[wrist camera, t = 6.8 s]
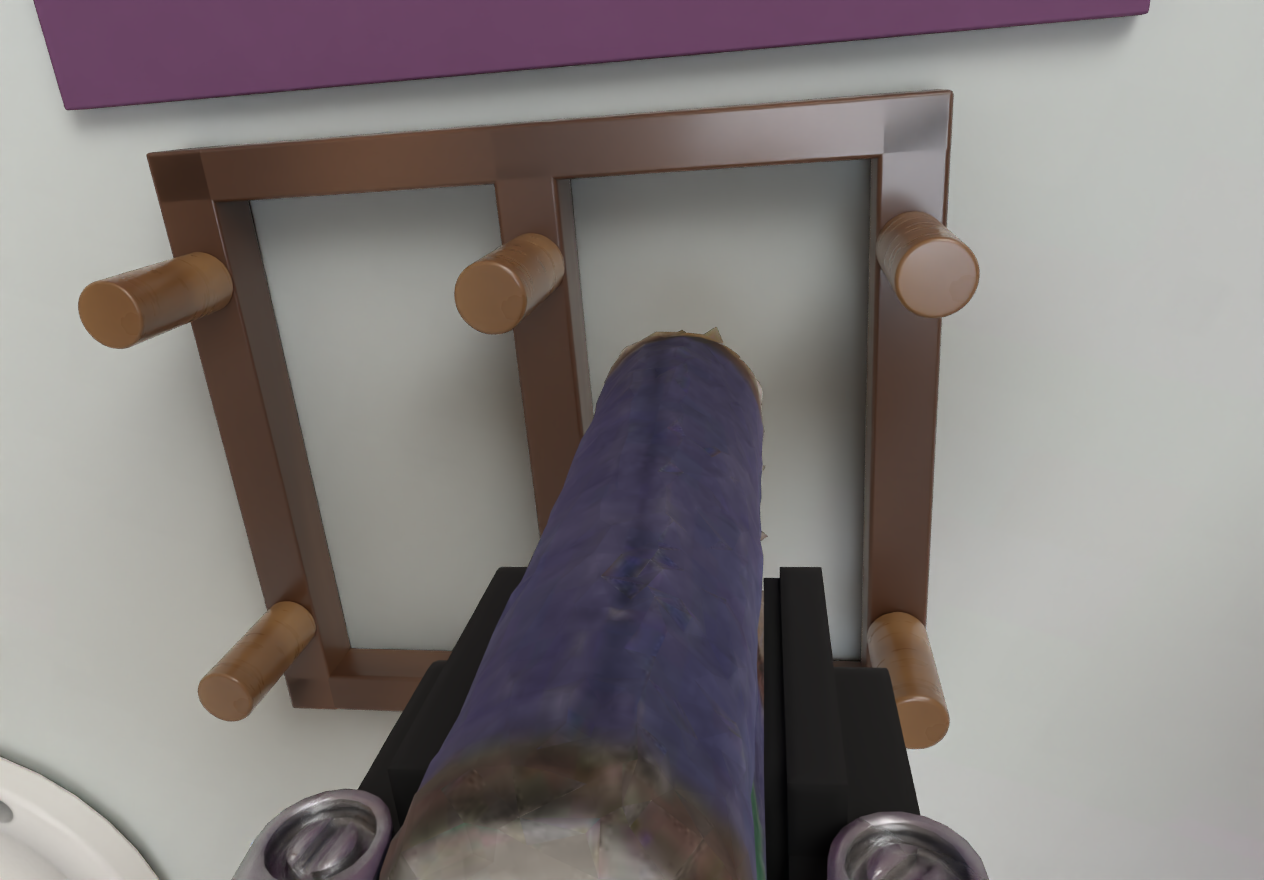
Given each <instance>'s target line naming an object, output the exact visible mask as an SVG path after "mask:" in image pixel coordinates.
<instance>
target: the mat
mask: <svg viewBox="0 0 1264 880" xmlns="http://www.w3.org/2000/svg"><path fill="white" fill-rule="evenodd" d="M33 1H34V4H35V8H36V11H37V14H38V18H39V21H40V25H41V28H42V32H43V35H44V38H45V42H46V45H47V49H48V52H49V55H50V59H51V62H52V66H53V69H54V73H55V76H56V79H57V83H58V86H59V90H60V93H61V97H62V100H63V103H64V107H65V109H66V110H82V109H94V108H105V107H116V106H127V105H138V104H150V103H161V102H172V101H183V100H194V99H206V98H217V97H228V96H239V95H250V94H261V93H273V92H284V91H295V90H306V89H317V88H329V87H340V86H351V85H362V84H373V83H385V82H396V81H407V80H418V79H429V78H441V77H452V76H463V75H474V74H485V73H497V72H508V71H519V70H530V69H541V68H553V67H564V66H575V65H586V64H597V63H609V62H620V61H631V60H642V59H653V58H664V57H676V56H687V55H698V54H709V53H720V52H732V51H743V50H754V49H765V48H776V47H788V46H799V45H810V44H821V43H832V42H844V41H855V40H866V39H877V38H888V37H900V36H911V35H922V34H933V33H944V32H956V31H967V30H978V29H989V28H1000V27H1011V26H1023V25H1034V24H1045V23H1056V22H1067V21H1079V20H1090V19H1101V18H1112V17H1123V16H1135V15H1142V14H1146V13H1148V11H1149V5H1150V0H33Z"/></svg>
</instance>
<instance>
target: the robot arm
mask: <svg viewBox="0 0 1264 880" xmlns="http://www.w3.org/2000/svg"><path fill="white" fill-rule="evenodd" d="M527 568H528V567H500V568H499V569H498V570H497V571H496V573H495V575H494V577H493V579H492V580H491V582H490V584H489V586H488V588H487V589H486V591H485V593H484V595H483V597H482V598H481V600H480V602H479V604H478V606H477V607H476V609H475V611H474V613H473V615H472V616H471V618H470V620H469V622H468V624H467V625H466V627H465V629H464V631H463V633H462V635H461V636H460V638H459V640H458V642H457V644H456V645H455V647H454V649H453V651H452V653H451V654H450V656H449V658H448V660H438V661H435V662H433V663H432V664H431V665H430V667H429V668H428V669H427V671H426V673H425V674H424V676H423V678H422V679H421V681H420V683H419V685H418V686H417V688H416V690H415V691H414V693H413V695H412V697H411V698H410V700H409V702H408V704H407V705H406V707H405V709H404V710H403V712H402V714H401V716H400V717H399V719H398V721H397V723H396V724H395V726H394V728H393V729H392V731H391V733H390V735H389V736H388V738H387V740H386V742H385V743H384V745H383V747H382V748H381V750H380V752H379V754H378V755H377V757H376V759H375V761H374V762H373V764H372V766H371V767H370V769H369V771H368V773H367V774H366V776H365V778H364V780H363V781H362V783H361V785H360V786H359V788H358V790H353V789H340V790H333V791H325V792H322V793H319V794H316V795H313V796H311V797H308V798H305V799H303V800H301V801H299V802H297V803H295V804H294V805H292V806H290V807H288V808H286V809H285V810H283V811H282V812H281V813H280V814H278V815H277V816H276V817H275V818H274V819H272V820H271V821H270V822H269V823H268V824H267V825H266V826H265V827H264V829H263V830H262V831H261V832H260V834H259V835H258V836H257V838H256V839H255V840H254V842H253V844H252V845H251V847H250V849H249V850H248V852H247V854H246V856H245V857H244V859H243V861H242V862H241V864H240V866H239V868H238V869H237V871H236V873H235V875H234V876H233V878H232V880H379V877H380V872H381V869H382V866H383V863H384V860H385V857H386V855H387V852H388V849H389V846H390V843H391V840H392V839H393V838H394V836H395V835H396V834H397V832H398V831H399V830H400V828H401V827H402V826H403V824H404V821H405V818H406V816H407V813H408V810H409V808H410V805H411V802H412V800H413V797H414V795H415V793H417V791H418V789H419V786H420V784H421V782H422V780H423V778H424V775H425V773H426V771H427V769H428V767H429V764H430V762H431V760H432V759H433V758H434V757H435V756H436V754H437V753H438V752H439V751H440V748H441V746H442V745H443V743H444V741H445V739H446V737H447V736H448V734H449V732H450V730H451V729H452V727H453V725H454V723H455V722H456V720H457V718H458V716H459V714H460V712H461V709H462V707H463V705H464V702H465V700H466V697H467V695H468V693H469V690H470V688H471V685H472V683H473V681H474V678H475V676H476V673H477V671H478V668H479V666H480V664H481V661H482V659H483V656H484V654H485V651H486V649H487V647H488V644H489V642H490V639H491V637H492V634H493V632H494V630H495V628H496V626H497V624H498V621H499V619H500V617H501V615H502V613H503V611H504V609H505V606H506V604H507V602H508V600H509V598H510V596H511V594H512V592H513V591H514V590H515V589H516V587H517V586H518V585H519V584H520V582H521V580H522V578H523V576H524V574H525V572H526V570H527ZM764 805H765V840H766V875H767V880H989V878H988V875H987V873H986V870H985V867H984V865H983V862H982V860H981V858H980V856H979V855H978V854H977V853H976V852H975V850H974V849H973V848H972V847H971V845H970V844H969V843H968V842H967V840H965V839H964V838H962V837H961V836H960V835H958V834H957V833H956V832H954V831H953V830H952V829H950V828H949V827H948V826H945V825H943V824H941V823H939V822H936V821H934V820H932V819H930V818H927V817H925V816H920V811H919V806H918V802H917V797H916V793H915V788H914V783H913V779H912V774H911V770H910V765H909V760H908V756H907V751H906V747H905V742H904V737H903V733H902V728H901V724H900V719H899V714H898V710H897V705H896V701H895V696H894V691H893V687H892V682H891V678H890V674H889V671H888V669H887V668H873V667H833V659H832V650H831V642H830V634H829V626H828V618H827V609H826V601H825V593H824V585H823V577H822V569H821V567H780V578H764ZM0 880H159V878H158V877H157V875H156V874H155V873H154V871H153V870H152V869H151V867H150V866H149V865H148V863H147V862H146V861H145V859H144V858H143V857H142V855H141V854H140V853H139V852H138V850H137V849H136V848H135V847H134V846H133V845H132V844H131V843H130V842H129V841H128V840H127V839H126V838H125V837H124V836H123V835H122V834H121V833H120V832H119V831H118V830H117V829H116V828H115V827H114V826H113V825H112V824H111V823H110V822H109V821H108V820H107V819H106V818H104V817H103V816H102V815H100V814H99V813H98V812H97V811H95V810H94V809H93V808H91V807H90V806H89V805H87V804H86V803H85V802H84V801H82V800H81V799H80V798H78V797H77V796H76V795H74V794H73V793H71V792H69V791H67V790H66V789H64V788H62V787H61V786H59V785H57V784H56V783H54V782H52V781H51V780H49V779H47V778H46V777H44V776H42V775H41V774H39V773H36V772H34V771H32V770H30V769H27V768H25V767H23V766H21V765H18V764H16V763H14V762H11V761H9V760H7V759H5V758H2V757H0Z"/></svg>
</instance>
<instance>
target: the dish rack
mask: <svg viewBox="0 0 1264 880" xmlns="http://www.w3.org/2000/svg"><path fill="white" fill-rule="evenodd" d="M953 97H954V94H953V91H951V90H944V89H934V90H922V91H909V92H896V93H884V94H871V95H858V96H846V97H833V98H820V99H808V100H795V101H782V102H770V103H757V104H745V105H732V106H719V107H707V108H694V109H681V110H669V111H656V112H643V113H631V114H618V115H605V116H593V117H580V118H567V119H555V120H542V121H530V122H517V123H504V124H492V125H479V126H466V127H454V128H441V129H428V130H416V131H403V132H390V133H378V134H365V135H352V136H340V137H327V138H315V139H302V140H289V141H277V142H264V143H251V144H239V145H226V146H213V147H200V148H188V149H178V150H169V151H161V152H152V153H148V154H147V160H148V163H149V167H150V171H151V175H152V178H153V182H154V186H155V190H156V193H157V197H158V201H159V205H160V209H161V212H162V216H163V220H164V224H165V227H166V231H167V235H168V239H169V242H170V246H171V250H172V254H173V259H170V260H166V261H163V262H160V263H156V264H153V265H149V266H146V267H143V268H139V269H136V270H133V271H129V272H126V273H122V274H119V275H116V276H112V277H109V278H106V279H102V280H99V281H95V282H93V283H91V284H89V285H88V286H86V287H85V289H84V290H83V291H82V293H81V295H80V298H79V302H78V310H79V315H80V318H81V321H82V323H83V325H84V327H85V329H86V330H87V331H88V333H89V334H90V335H91V336H92V337H93V338H94V339H95V340H97V341H98V342H100V343H101V344H103V345H105V346H108V347H111V348H116V349H125V348H129V347H131V346H134V345H136V344H138V343H141V342H143V341H146V340H148V339H151V338H153V337H155V336H158V335H160V334H163V333H165V332H167V331H170V330H172V329H175V328H177V327H180V326H182V325H184V324H187V323H189V322H191V325H192V329H193V333H194V337H195V340H196V344H197V348H198V352H199V356H200V359H201V363H202V367H203V371H204V374H205V378H206V382H207V386H208V389H209V393H210V397H211V401H212V405H213V408H214V412H215V416H216V420H217V423H218V427H219V431H220V435H221V438H222V442H223V446H224V450H225V453H226V457H227V461H228V465H229V469H230V472H231V476H232V480H233V484H234V487H235V491H236V495H237V499H238V502H239V506H240V510H241V514H242V518H243V521H244V525H245V529H246V533H247V536H248V540H249V544H250V548H251V551H252V555H253V559H254V563H255V567H256V570H257V574H258V578H259V582H260V585H261V589H262V593H263V597H264V600H265V604H266V608H267V612H266V613H265V614H264V615H263V616H262V617H261V618H260V619H259V620H258V621H257V622H256V623H255V624H254V625H253V626H252V627H251V628H250V629H249V630H248V632H247V633H246V634H245V635H244V636H243V637H242V638H241V639H240V640H239V641H238V642H237V643H236V644H235V645H234V646H233V647H232V648H231V649H230V650H229V651H228V652H227V653H226V654H225V655H224V656H223V658H222V659H221V660H220V661H219V662H218V663H217V664H216V665H215V666H214V667H213V668H212V669H211V670H210V671H209V672H208V673H207V674H206V675H205V676H204V677H203V678H202V679H201V681H200V683H199V686H198V696H199V699H200V702H201V703H202V705H203V706H204V708H205V709H206V710H207V711H208V712H209V713H211V714H212V715H214V716H215V717H217V718H219V719H222V720H225V721H239V720H242V719H244V718H246V717H247V716H248V715H249V714H250V713H251V712H252V711H253V710H254V708H255V707H256V706H257V705H258V704H259V702H260V701H261V700H262V699H263V698H264V696H265V695H266V694H267V693H268V692H269V690H270V689H271V688H272V687H273V686H274V684H275V683H276V682H277V681H278V680H279V678H280V677H281V676H282V675H283V674H284V676H285V680H286V683H287V687H288V691H289V695H290V698H291V702H292V706H293V707H294V708H311V709H352V710H378V711H403V710H404V709H405V707H406V705H407V704H408V702H409V700H410V698H411V697H412V695H413V693H414V691H415V690H416V688H417V686H418V685H419V683H420V681H421V679H422V678H423V676H424V674H425V673H426V671H427V669H428V668H429V667H430V665H431V664H432V663H433V662H435V661H438V660H448V658H449V656H450V654H451V653H452V651H436V650H398V649H359V648H351V646H350V642H349V638H348V633H347V629H346V624H345V620H344V616H343V611H342V607H341V603H340V598H339V594H338V590H337V585H336V581H335V577H334V572H333V568H332V563H331V559H330V555H329V550H328V546H327V542H326V537H325V533H324V529H323V524H322V520H321V515H320V511H319V507H318V502H317V498H316V494H315V489H314V485H313V481H312V476H311V472H310V467H309V463H308V459H307V454H306V450H305V446H304V441H303V437H302V433H301V428H300V424H299V420H298V415H297V411H296V406H295V402H294V398H293V393H292V389H291V385H290V380H289V376H288V372H287V367H286V363H285V358H284V354H283V350H282V345H281V341H280V337H279V332H278V328H277V324H276V319H275V315H274V310H273V306H272V302H271V297H270V293H269V289H268V284H267V280H266V276H265V271H264V267H263V262H262V258H261V254H260V249H259V245H258V241H257V236H256V232H255V228H254V223H253V219H252V215H251V210H250V206H249V201H248V200H263V199H278V198H293V197H308V196H323V195H337V194H352V193H367V192H382V191H397V190H412V189H427V188H442V187H456V186H471V185H486V184H494V187H495V195H496V203H497V210H498V218H499V226H500V233H501V241H502V246H501V247H499V248H497V249H496V250H494V251H492V252H491V253H489V254H488V255H486V256H484V257H483V258H481V259H479V260H478V261H476V262H474V263H473V264H471V265H469V266H468V267H467V268H465V269H464V270H463V271H462V273H461V274H460V275H459V277H458V279H457V282H456V285H455V291H454V297H455V303H456V307H457V309H458V311H459V313H460V315H461V317H462V318H463V319H464V321H465V322H466V323H467V324H468V325H470V326H471V327H472V328H474V329H476V330H477V331H480V332H482V333H485V334H491V335H497V334H503V333H506V332H509V331H511V330H512V329H513V334H514V341H515V349H516V357H517V364H518V372H519V380H520V387H521V395H522V403H523V411H524V418H525V426H526V434H527V441H528V449H529V457H530V464H531V472H532V480H533V488H534V495H535V503H536V511H537V518H538V526H539V534H540V538H541V536H542V534H543V531H544V529H545V527H546V525H547V523H548V519H549V516H550V513H551V510H552V508H553V506H554V504H555V502H556V501H557V499H558V497H559V495H560V493H561V491H562V489H563V486H564V483H565V481H566V478H567V475H568V472H569V469H570V466H571V464H572V461H573V458H574V456H575V453H576V451H577V449H578V446H579V444H580V441H581V439H582V438H583V436H584V434H585V433H586V431H587V429H588V428H589V426H590V424H591V422H592V420H593V418H594V415H593V405H592V395H591V385H590V375H589V365H588V355H587V345H586V335H585V325H584V315H583V304H582V294H581V284H580V274H579V264H578V254H577V244H576V234H575V224H574V214H573V204H572V194H571V184H570V179H575V178H590V177H605V176H620V175H635V174H650V173H665V172H680V171H694V170H709V169H724V168H739V167H754V166H769V165H784V164H799V163H814V162H828V161H843V160H858V159H871V184H870V234H869V284H868V333H867V383H866V432H865V482H864V532H863V581H862V631H861V661H833V667H873V668H887V669H888V671H889V674H890V678H891V682H892V687H893V691H894V696H895V701H896V705H897V710H898V714H899V719H900V724H901V728H902V733H903V737H904V742H905V747H906V748H908V749H924V748H928V747H931V746H933V745H935V744H936V743H938V742H939V741H941V740H942V739H943V737H944V736H945V735H946V733H947V731H948V728H949V723H950V718H949V714H948V710H947V706H946V702H945V699H944V695H943V691H942V687H941V684H940V680H939V676H938V673H937V669H936V665H935V661H934V658H933V654H932V650H931V646H930V643H929V639H928V635H927V632H926V619H927V599H928V580H929V561H930V541H931V522H932V502H933V483H934V463H935V444H936V424H937V405H938V385H939V366H940V346H941V327H942V317H946V316H948V315H951V314H953V313H955V312H957V311H959V310H960V309H961V308H963V307H964V306H965V305H966V304H967V303H968V302H969V301H970V299H971V298H972V297H973V295H974V293H975V291H976V289H977V286H978V283H979V265H978V262H977V259H976V257H975V255H974V254H973V252H972V251H971V250H970V249H969V247H967V246H966V245H965V244H964V243H963V242H962V241H961V240H960V239H958V238H957V237H956V236H955V235H954V234H953V233H952V232H951V231H949V230H948V229H947V210H948V191H949V171H950V152H951V136H952V117H953Z"/></svg>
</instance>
